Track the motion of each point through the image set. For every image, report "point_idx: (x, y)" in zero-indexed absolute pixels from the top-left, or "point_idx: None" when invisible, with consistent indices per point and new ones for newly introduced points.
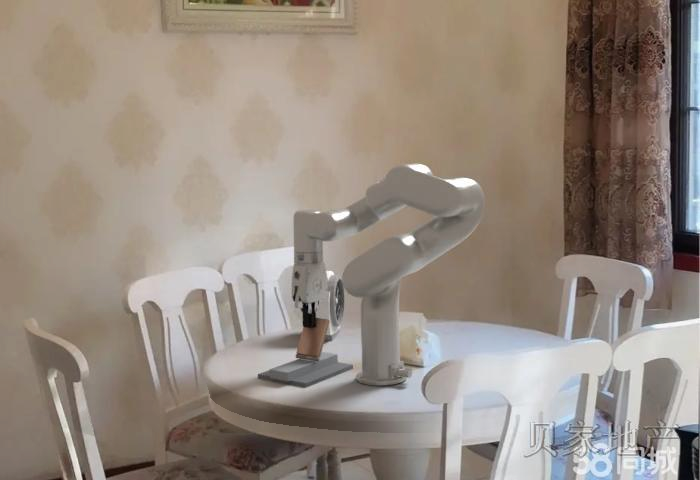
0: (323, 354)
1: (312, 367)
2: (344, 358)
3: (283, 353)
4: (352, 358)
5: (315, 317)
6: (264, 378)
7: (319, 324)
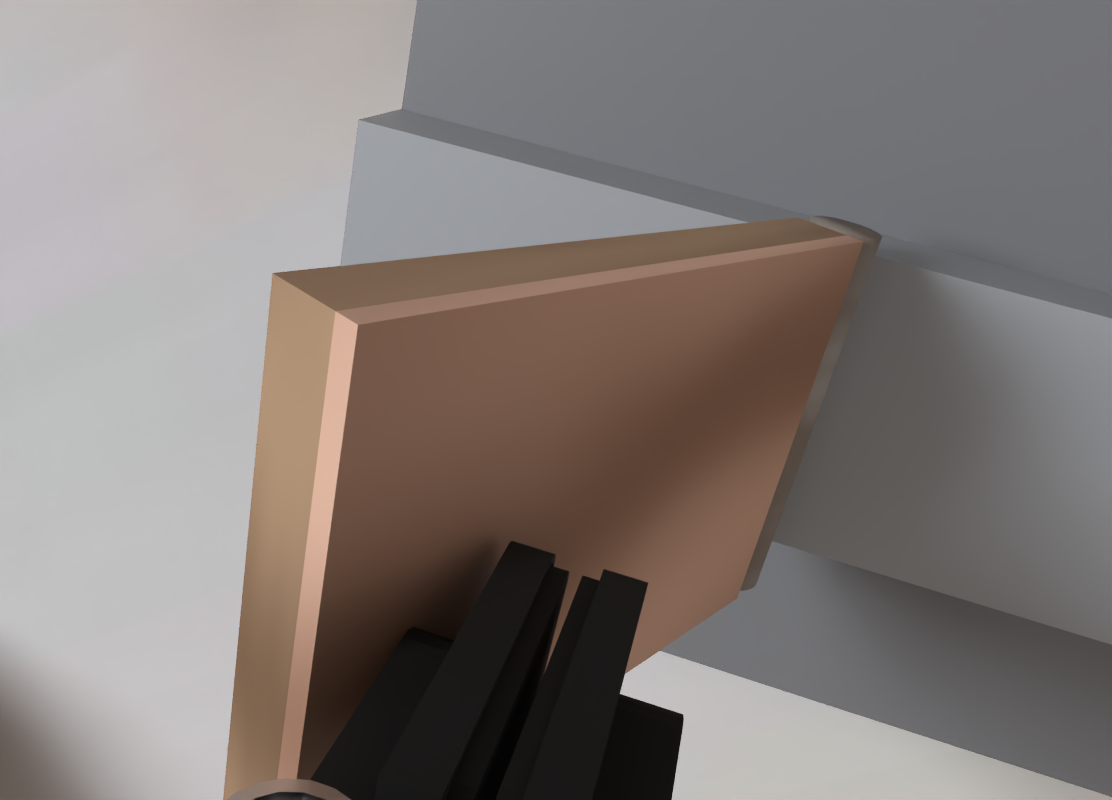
0: None
1: (927, 258)
2: (120, 161)
3: (224, 781)
4: (81, 67)
5: (455, 675)
6: None
7: (461, 485)
